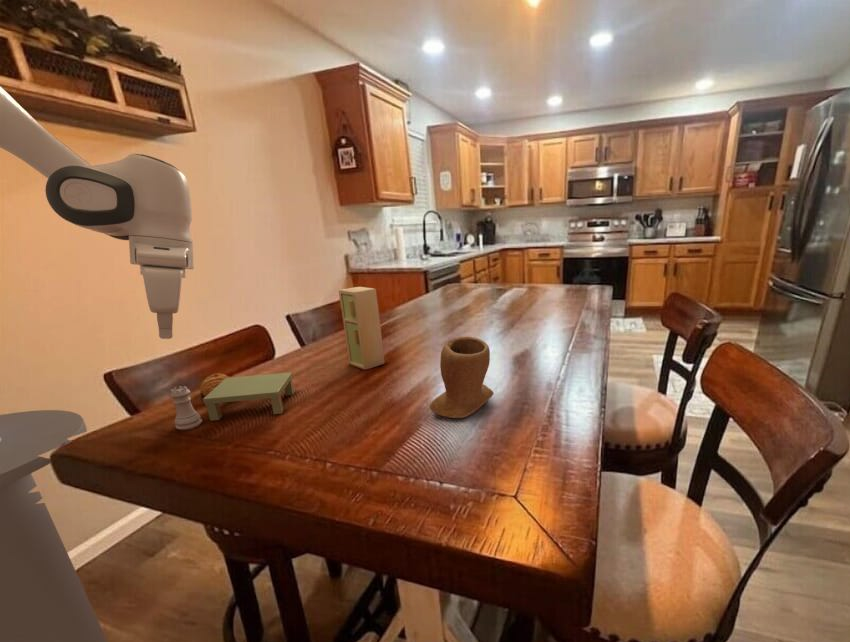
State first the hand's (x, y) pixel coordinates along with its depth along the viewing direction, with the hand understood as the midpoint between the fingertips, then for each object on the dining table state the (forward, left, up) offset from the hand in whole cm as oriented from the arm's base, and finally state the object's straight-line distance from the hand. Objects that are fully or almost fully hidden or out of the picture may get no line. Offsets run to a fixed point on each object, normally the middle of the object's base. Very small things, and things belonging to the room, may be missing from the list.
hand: (166, 335), depth 73 cm
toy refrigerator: (+31, +30, -19) cm, 47 cm away
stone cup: (+54, -4, -19) cm, 57 cm away
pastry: (-2, +18, -19) cm, 27 cm away
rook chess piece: (-1, +1, -19) cm, 19 cm away
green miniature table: (+9, +8, -19) cm, 22 cm away
